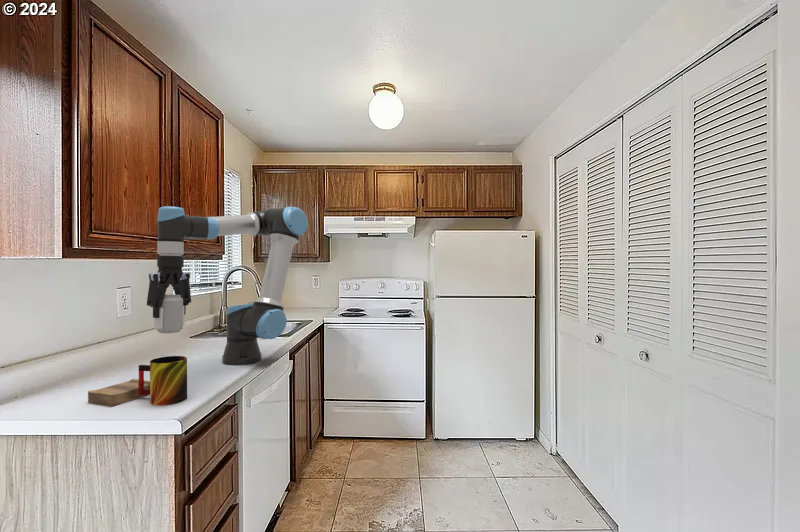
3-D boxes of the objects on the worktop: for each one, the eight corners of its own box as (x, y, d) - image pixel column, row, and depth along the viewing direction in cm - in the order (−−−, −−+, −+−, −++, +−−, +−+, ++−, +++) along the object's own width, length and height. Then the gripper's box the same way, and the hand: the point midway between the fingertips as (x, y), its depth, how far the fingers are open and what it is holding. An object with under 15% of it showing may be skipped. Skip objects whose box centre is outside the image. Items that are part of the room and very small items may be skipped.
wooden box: (133, 389, 140) (133, 378, 140) (156, 392, 136) (155, 382, 136) (88, 402, 127) (87, 391, 126) (112, 406, 123) (111, 395, 123)
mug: (139, 397, 131) (139, 357, 131) (189, 393, 135) (189, 355, 135) (129, 408, 122) (129, 365, 122) (184, 403, 126) (183, 362, 126)
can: (171, 334, 136) (172, 295, 136) (150, 333, 137) (151, 294, 137) (187, 330, 143) (188, 294, 143) (167, 329, 144) (168, 293, 144)
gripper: (187, 256, 151) (186, 322, 151) (132, 254, 132) (131, 330, 132) (204, 256, 148) (203, 323, 148) (151, 254, 129) (149, 331, 129)
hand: (169, 326), depth 140 cm, fingers closed on can, 7 cm apart
